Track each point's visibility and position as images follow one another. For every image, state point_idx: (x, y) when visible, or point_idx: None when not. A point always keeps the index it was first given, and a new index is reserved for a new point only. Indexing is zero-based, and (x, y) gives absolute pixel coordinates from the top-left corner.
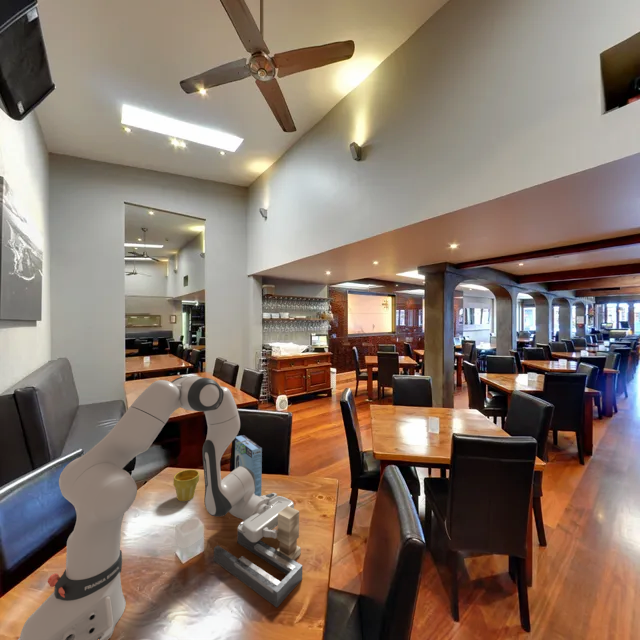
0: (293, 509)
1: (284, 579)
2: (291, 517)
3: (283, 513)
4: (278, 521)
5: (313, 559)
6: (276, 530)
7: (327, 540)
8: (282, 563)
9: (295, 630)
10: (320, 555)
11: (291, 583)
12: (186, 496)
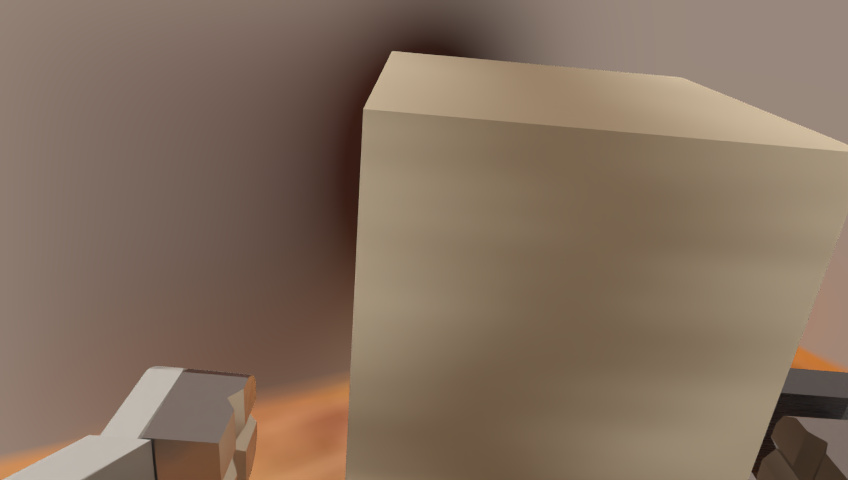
0: (412, 73)
1: (807, 388)
2: (625, 73)
3: (704, 115)
4: (774, 356)
5: (342, 463)
6: (827, 442)
7: (29, 461)
8: (750, 475)
9: (797, 355)
10: (267, 438)
11: None
12: None
